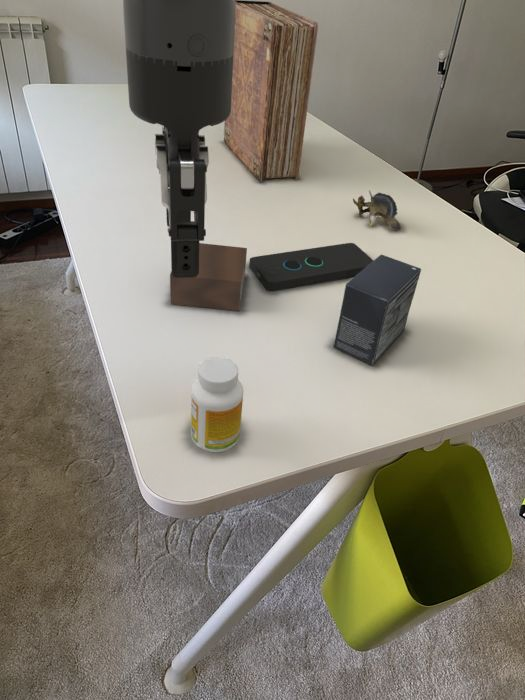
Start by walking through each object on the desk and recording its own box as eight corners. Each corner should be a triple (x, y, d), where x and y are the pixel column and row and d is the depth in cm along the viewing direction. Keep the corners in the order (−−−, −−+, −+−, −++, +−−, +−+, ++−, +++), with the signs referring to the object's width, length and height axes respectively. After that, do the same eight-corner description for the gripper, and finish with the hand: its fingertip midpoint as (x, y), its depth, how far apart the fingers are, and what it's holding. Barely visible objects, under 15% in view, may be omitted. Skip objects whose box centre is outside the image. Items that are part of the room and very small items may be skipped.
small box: (365, 313, 82) (380, 251, 76) (405, 331, 79) (424, 268, 73) (330, 347, 75) (343, 281, 69) (372, 367, 72) (391, 301, 66)
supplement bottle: (249, 431, 62) (255, 365, 56) (221, 461, 58) (224, 395, 52) (210, 410, 64) (212, 345, 58) (180, 438, 60) (180, 371, 54)
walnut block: (170, 304, 80) (169, 274, 77) (182, 269, 88) (182, 241, 84) (239, 311, 80) (241, 282, 77) (244, 275, 88) (247, 247, 84)
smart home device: (248, 256, 89) (352, 241, 96) (247, 265, 90) (350, 249, 97) (269, 282, 83) (379, 264, 91) (268, 292, 84) (376, 273, 92)
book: (298, 180, 121) (319, 23, 102) (259, 182, 118) (273, 21, 99) (258, 140, 139) (269, 1, 120) (223, 142, 136) (229, -1, 117)
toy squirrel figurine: (347, 220, 104) (393, 225, 100) (355, 182, 104) (402, 186, 100) (359, 228, 111) (403, 234, 107) (367, 193, 110) (411, 198, 106)
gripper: (126, 22, 43) (137, 214, 53) (123, 65, 32) (139, 296, 43) (221, 28, 45) (215, 214, 55) (249, 72, 34) (235, 293, 44)
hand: (181, 250), depth 49 cm, fingers open, 8 cm apart
